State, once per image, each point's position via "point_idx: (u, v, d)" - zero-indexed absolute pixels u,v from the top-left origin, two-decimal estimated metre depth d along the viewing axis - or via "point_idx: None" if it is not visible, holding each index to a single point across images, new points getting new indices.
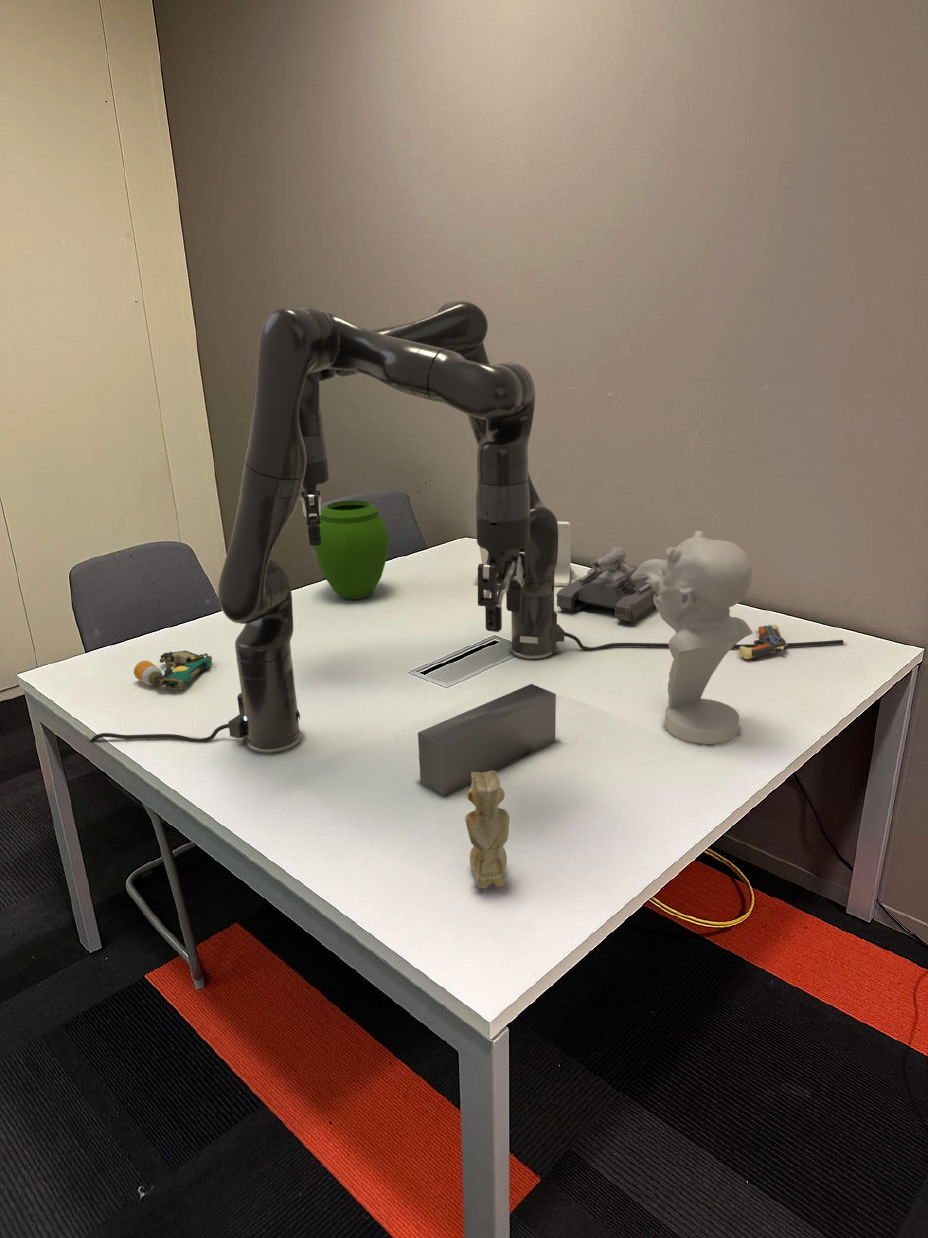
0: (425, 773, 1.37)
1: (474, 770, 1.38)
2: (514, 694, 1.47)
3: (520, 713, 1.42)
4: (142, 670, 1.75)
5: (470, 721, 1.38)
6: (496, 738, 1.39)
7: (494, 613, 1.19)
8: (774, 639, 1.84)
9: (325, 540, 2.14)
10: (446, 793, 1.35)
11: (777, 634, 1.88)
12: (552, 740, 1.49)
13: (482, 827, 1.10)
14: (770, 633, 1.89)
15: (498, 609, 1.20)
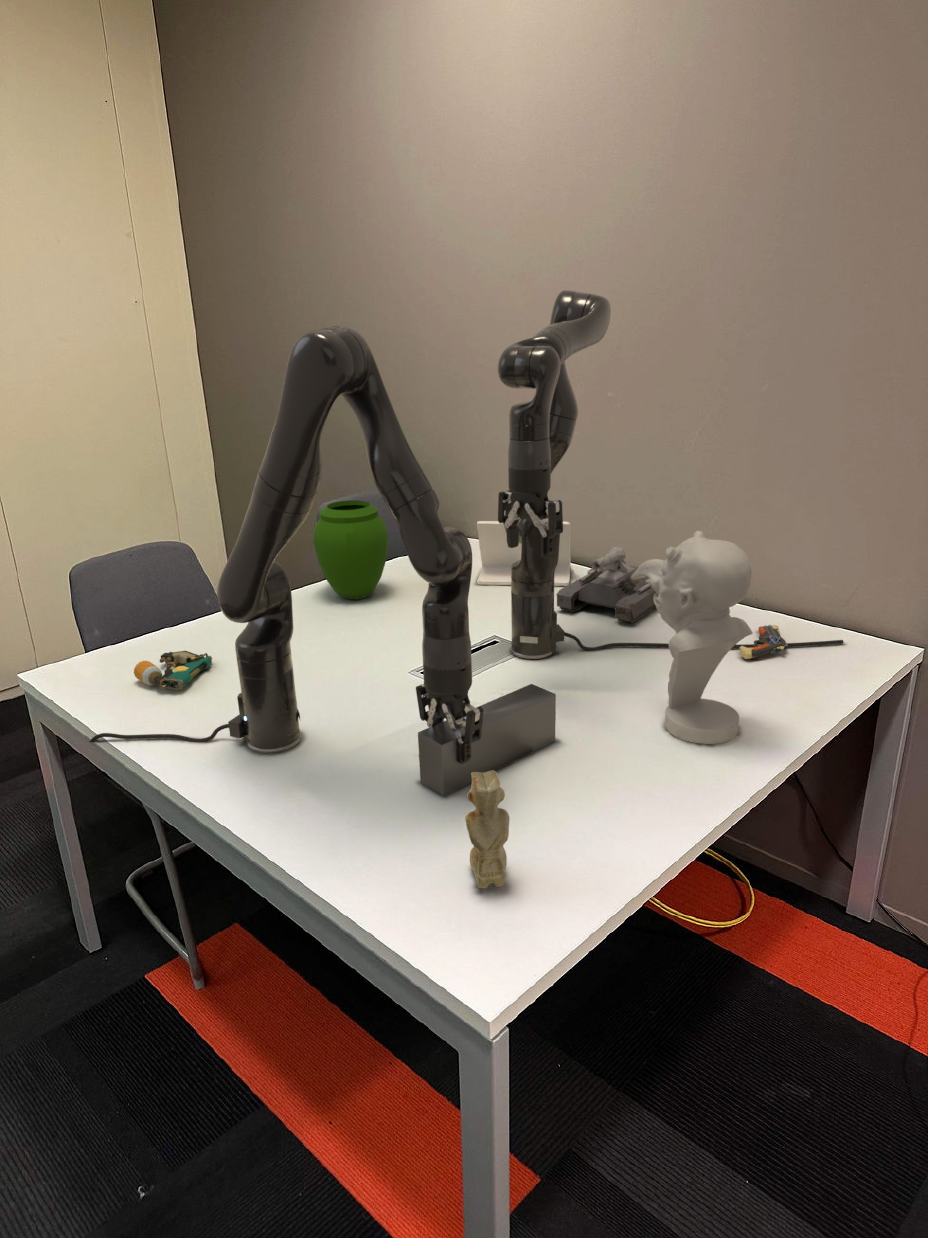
0: (425, 773, 1.37)
1: (474, 770, 1.38)
2: (514, 694, 1.47)
3: (520, 713, 1.42)
4: (142, 670, 1.75)
5: None
6: (496, 738, 1.39)
7: (470, 745, 1.34)
8: (774, 639, 1.84)
9: (325, 540, 2.14)
10: (446, 793, 1.35)
11: (777, 634, 1.88)
12: (552, 740, 1.49)
13: (482, 827, 1.10)
14: (770, 633, 1.89)
15: None
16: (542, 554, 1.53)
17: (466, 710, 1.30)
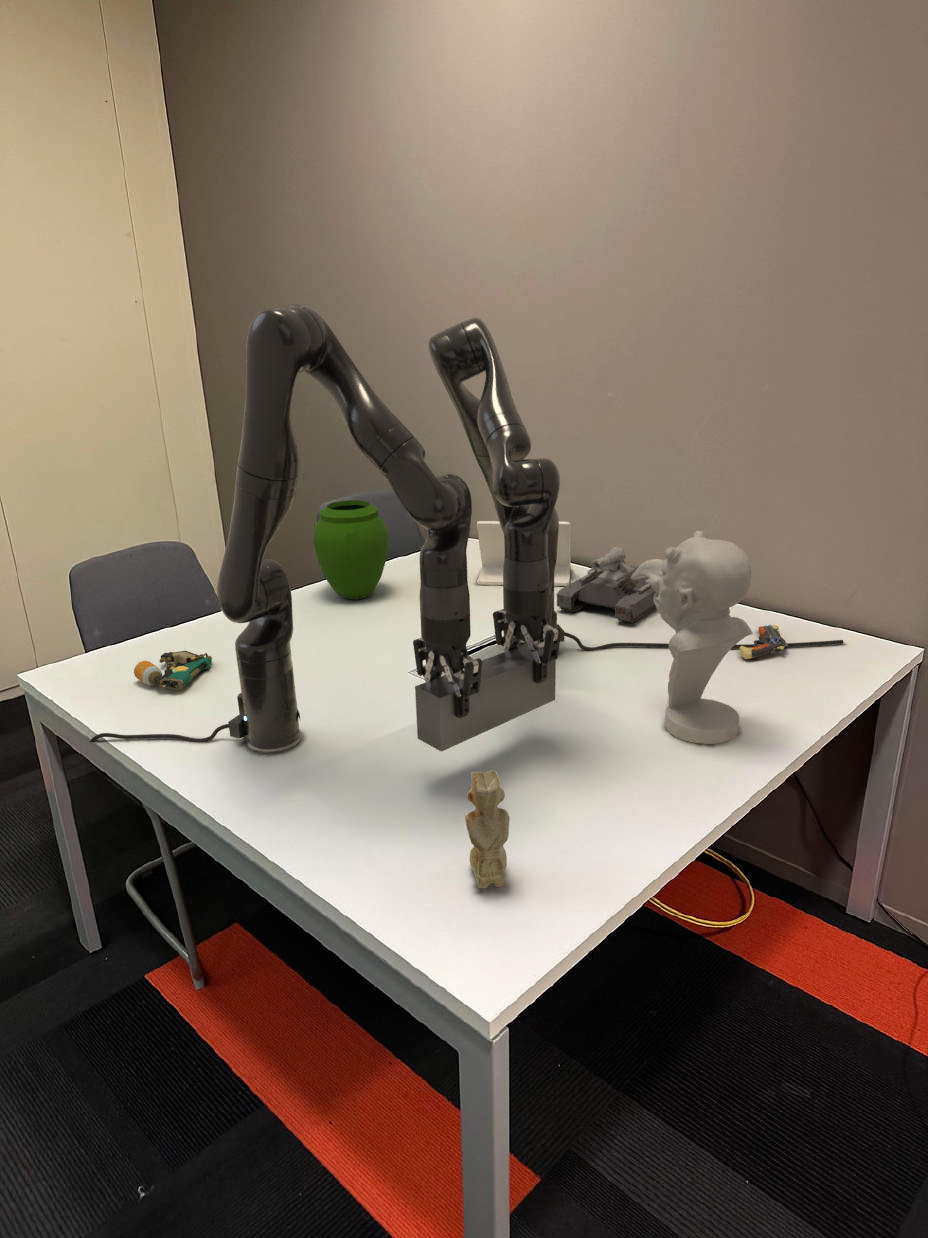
0: (422, 729, 1.34)
1: (472, 726, 1.35)
2: (513, 651, 1.44)
3: (519, 669, 1.39)
4: (142, 670, 1.75)
5: None
6: (495, 693, 1.36)
7: (468, 699, 1.31)
8: (774, 639, 1.84)
9: (325, 540, 2.14)
10: (444, 748, 1.32)
11: (777, 634, 1.88)
12: (552, 699, 1.47)
13: (482, 827, 1.10)
14: (770, 633, 1.89)
15: None
16: (535, 681, 1.42)
17: (464, 662, 1.27)
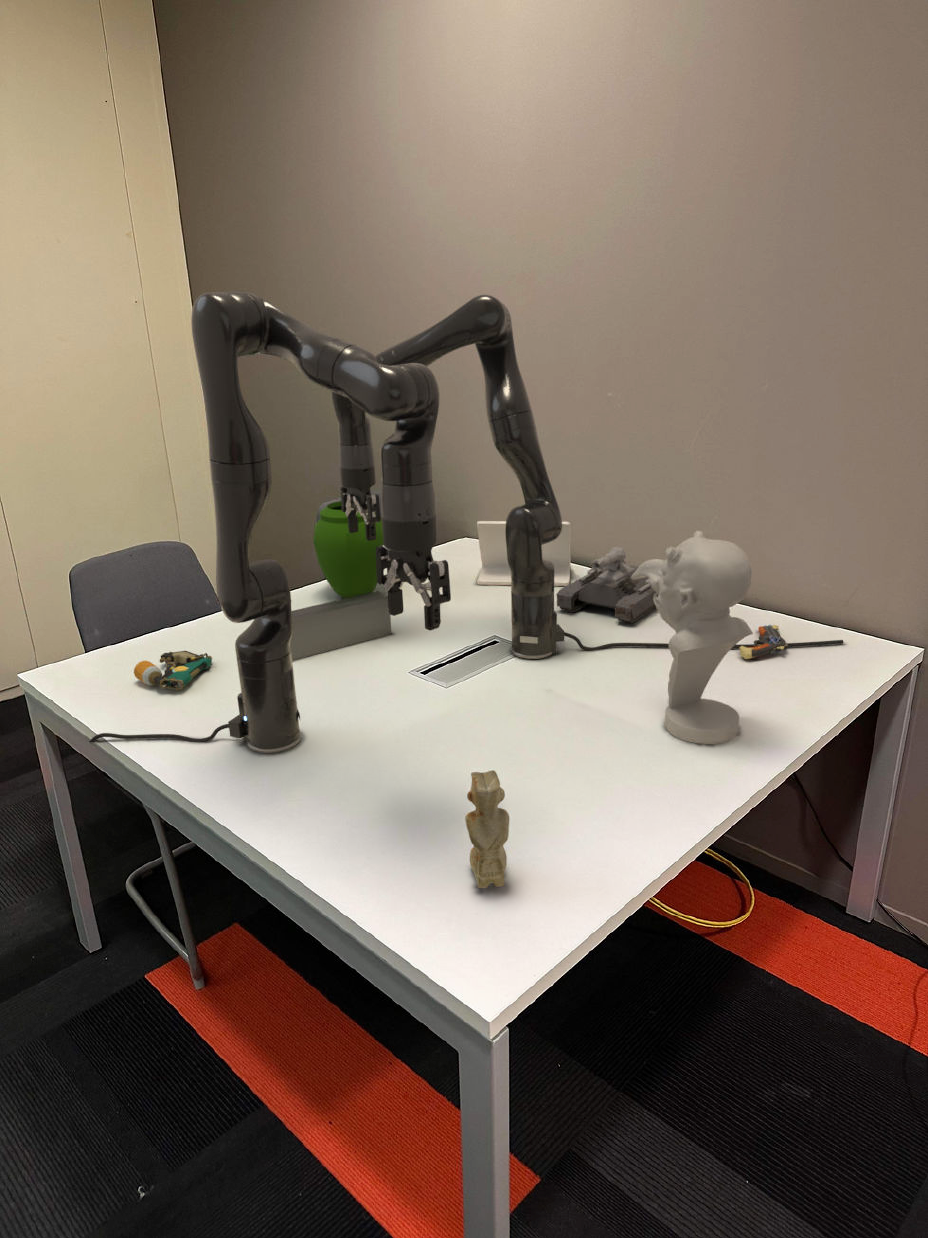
0: None
1: (316, 646, 1.89)
2: (359, 596, 1.98)
3: (356, 607, 1.93)
4: (142, 670, 1.75)
5: (315, 610, 1.90)
6: (334, 623, 1.91)
7: (439, 609, 1.20)
8: (774, 639, 1.84)
9: (325, 540, 2.14)
10: None
11: (777, 634, 1.88)
12: (388, 633, 2.00)
13: (482, 827, 1.10)
14: (770, 633, 1.89)
15: None
16: (366, 538, 1.88)
17: None
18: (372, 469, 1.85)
